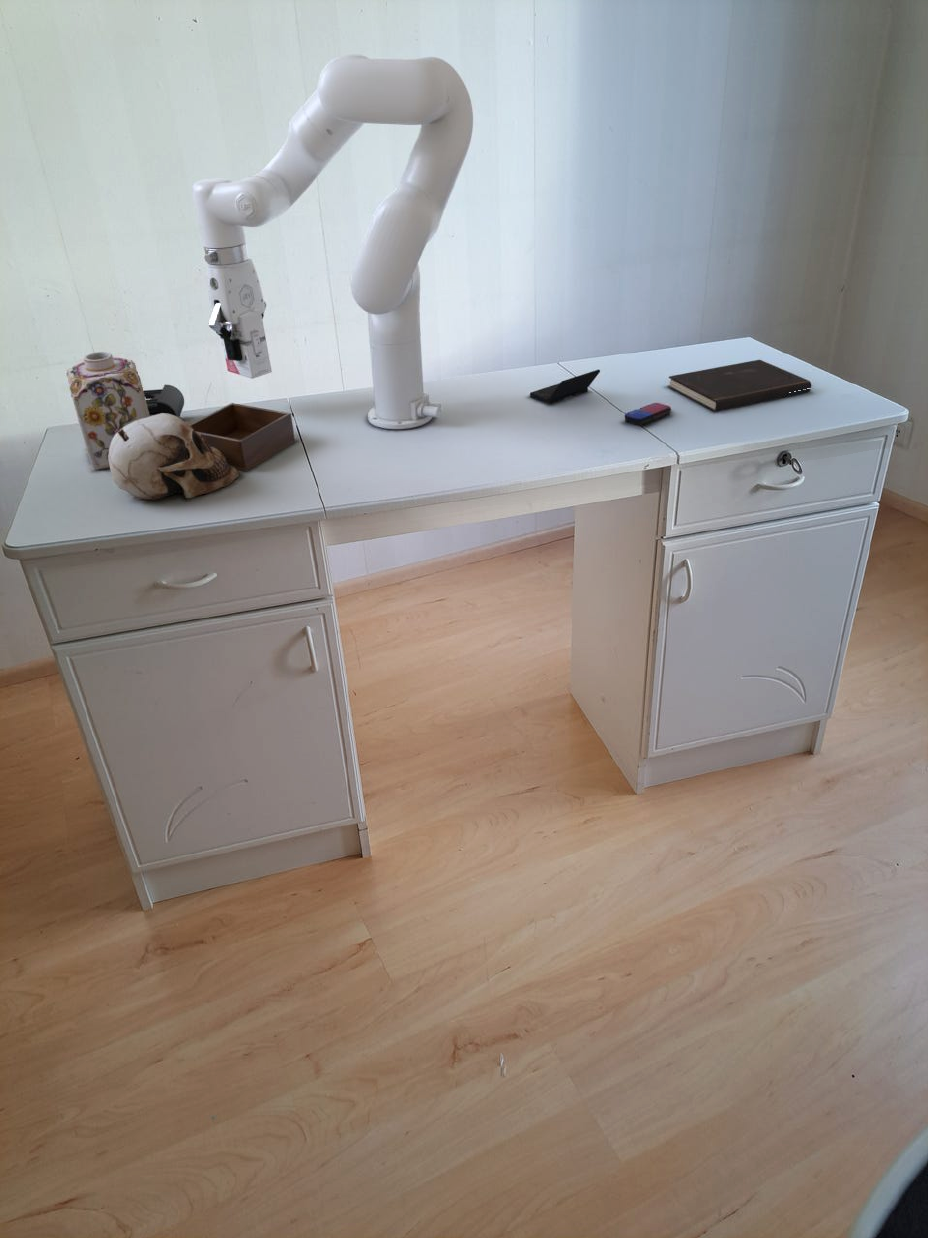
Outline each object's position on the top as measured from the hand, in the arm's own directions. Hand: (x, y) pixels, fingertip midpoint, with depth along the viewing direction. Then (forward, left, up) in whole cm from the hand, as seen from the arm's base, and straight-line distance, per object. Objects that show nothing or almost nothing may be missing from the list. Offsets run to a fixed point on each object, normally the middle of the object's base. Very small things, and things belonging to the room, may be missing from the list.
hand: (246, 353), depth 167 cm
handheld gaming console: (-53, -32, -12) cm, 63 cm away
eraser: (-72, -27, -12) cm, 78 cm away
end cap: (+12, +13, -12) cm, 21 cm away
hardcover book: (-84, -49, -12) cm, 98 cm away
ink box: (0, 0, -4) cm, 4 cm away
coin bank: (-10, +33, -12) cm, 36 cm away
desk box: (-9, +16, -12) cm, 22 cm away
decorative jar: (+10, +26, -12) cm, 30 cm away
